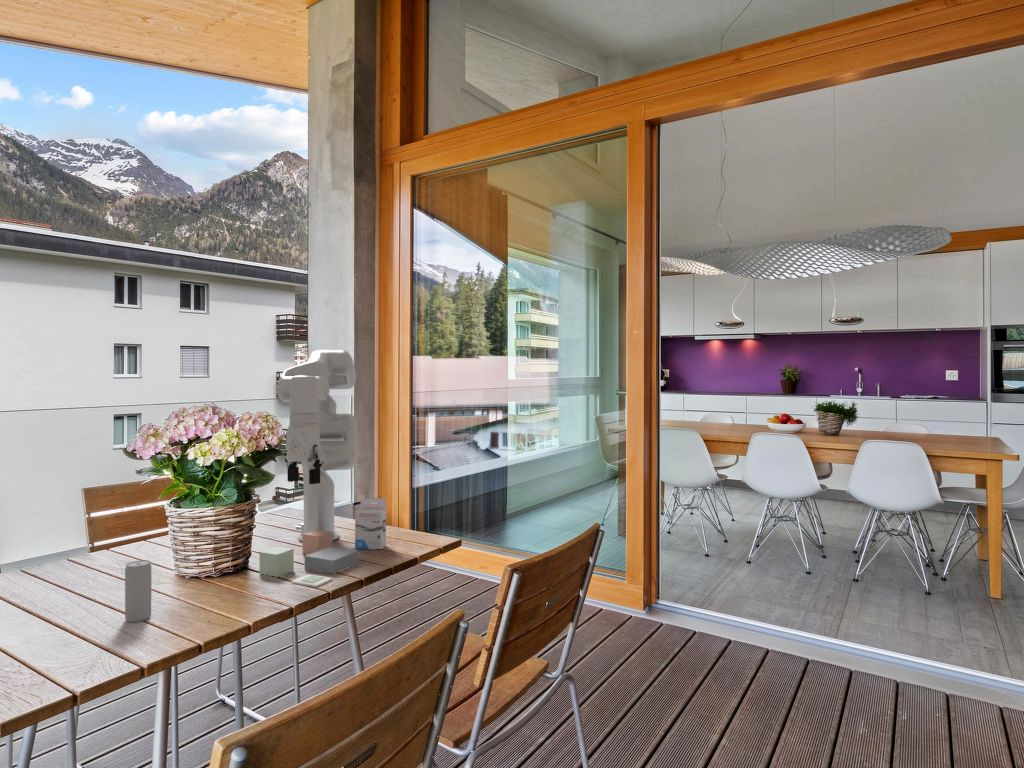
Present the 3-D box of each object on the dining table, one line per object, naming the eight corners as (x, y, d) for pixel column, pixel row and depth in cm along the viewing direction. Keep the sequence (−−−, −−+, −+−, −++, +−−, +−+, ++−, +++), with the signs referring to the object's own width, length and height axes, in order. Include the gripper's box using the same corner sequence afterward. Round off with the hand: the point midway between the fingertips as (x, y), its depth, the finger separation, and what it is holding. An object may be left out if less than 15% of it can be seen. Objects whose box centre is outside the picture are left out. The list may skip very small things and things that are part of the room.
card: (291, 583, 152) (291, 580, 152) (308, 576, 158) (308, 573, 158) (316, 587, 149) (316, 584, 149) (332, 580, 155) (332, 577, 155)
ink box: (354, 549, 183) (354, 500, 183) (359, 545, 188) (359, 497, 188) (381, 550, 182) (381, 501, 182) (386, 545, 187) (386, 498, 187)
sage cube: (259, 574, 160) (259, 552, 160) (276, 568, 165) (276, 546, 165) (276, 577, 157) (276, 554, 157) (293, 571, 163) (293, 548, 163)
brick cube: (302, 554, 178) (302, 534, 178) (316, 549, 184) (316, 529, 184) (318, 556, 176) (318, 536, 176) (332, 551, 181) (332, 531, 181)
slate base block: (304, 570, 164) (304, 555, 164) (330, 560, 173) (330, 546, 173) (333, 575, 160) (333, 560, 160) (358, 565, 169) (358, 550, 169)
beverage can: (146, 613, 133) (146, 558, 133) (155, 618, 130) (155, 562, 130) (121, 619, 129) (121, 563, 129) (130, 625, 126) (129, 568, 126)
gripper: (273, 420, 169) (273, 481, 168) (311, 421, 159) (311, 486, 158) (296, 419, 175) (296, 479, 174) (335, 420, 165) (334, 483, 164)
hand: (303, 482), depth 166 cm, fingers open, 9 cm apart
